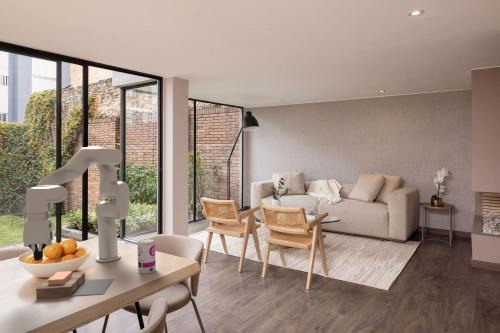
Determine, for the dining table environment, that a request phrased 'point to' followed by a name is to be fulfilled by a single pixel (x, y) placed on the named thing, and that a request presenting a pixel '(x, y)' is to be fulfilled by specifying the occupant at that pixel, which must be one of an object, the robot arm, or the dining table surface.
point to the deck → (61, 287)
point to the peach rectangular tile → (60, 278)
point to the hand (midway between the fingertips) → (38, 259)
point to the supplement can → (146, 256)
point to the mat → (93, 287)
